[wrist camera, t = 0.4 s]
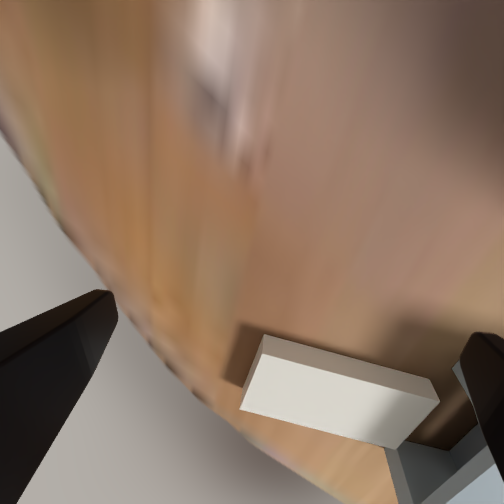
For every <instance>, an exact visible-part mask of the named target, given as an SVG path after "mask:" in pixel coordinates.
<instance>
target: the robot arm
mask: <svg viewBox="0 0 504 504" xmlns="http://www.w3.org/2000/svg"><path fill="white" fill-rule="evenodd" d="M117 322H118V312H117V307H116V303H115V298H114V295H113V293H112V292H111V291H109V290H99V289H96V290H93V291H91V292H88V293H86V294H84V295H82V296H80V297H77V298H75V299H73V300H71V301H68V302H66V303H64V304H62V305H59V306H57V307H55V308H53V309H51V310H48V311H46V312H44V313H42V314H39V315H37V316H35V317H33V318H31V319H29V320H27V321H24V322H22V323H20V324H17V325H16V326H13V327H11V328H8V329H6V330H4V331H2V332H0V504H17V502H18V500H19V499H20V497H21V495H22V494H23V492H24V490H25V488H26V487H27V485H28V483H29V482H30V480H31V478H32V477H33V475H34V473H35V472H36V470H37V468H38V467H39V465H40V463H41V462H42V460H43V458H44V456H45V455H46V453H47V451H48V450H49V448H50V447H51V445H52V443H53V441H54V440H55V438H56V436H57V435H58V433H59V431H60V430H61V428H62V426H63V425H64V423H65V421H66V419H67V418H68V416H69V414H70V413H71V411H72V410H73V408H74V406H75V405H76V403H77V401H78V399H79V398H80V396H81V394H82V393H83V391H84V389H85V388H86V386H87V384H88V382H89V381H90V379H91V377H92V375H93V374H94V371H95V370H96V368H97V365H98V363H99V361H100V359H101V357H102V354H103V353H104V350H105V348H106V346H107V344H108V342H109V340H110V338H111V335H112V333H113V331H114V329H115V327H116V325H117ZM460 367H461V370H462V373H463V376H464V379H465V383H466V386H467V389H468V392H469V395H470V398H471V401H472V404H473V407H474V411H475V414H476V417H477V420H478V423H479V425H480V428H481V431H482V433H483V436H484V438H485V441H486V443H487V445H488V448H489V450H490V452H491V455H492V457H493V459H494V461H495V464H496V466H497V468H498V471H499V473H500V475H501V478H502V480H503V482H504V339H503V338H501V337H499V336H498V335H496V334H493V333H486V332H474V333H473V334H472V335H471V336H470V338H469V340H468V342H467V344H466V346H465V347H464V349H463V351H462V353H461V355H460Z"/></svg>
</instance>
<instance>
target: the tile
mask: <svg viewBox="0 0 504 504" xmlns="http://www.w3.org/2000/svg"><path fill="white" fill-rule="evenodd" d="M439 403H440V400H439V398H438V396H437V394H436V392H435V390H434V388H433V385H432V383H431V381H430V379H427V378H424V377H420V376H416V375H413V374H409V373H405V372H402V371H398V370H394V369H391V368H387V367H383V366H380V365H376V364H372V363H369V362H365V361H361V360H358V359H354V358H350V357H347V356H343V355H339V354H336V353H332V352H328V351H325V350H321V349H317V348H314V347H310V346H306V345H303V344H299V343H295V342H292V341H288V340H284V339H281V338H277V337H273V336H270V335H266V334H264V335H263V338H262V340H261V343H260V345H259V348H258V351H257V353H256V356H255V358H254V361H253V363H252V366H251V368H250V371H249V374H248V376H247V379H246V381H245V384H244V386H243V390H242V397H241V403H240V409H241V410H245V411H248V412H252V413H256V414H260V415H264V416H268V417H271V418H275V419H279V420H283V421H287V422H291V423H294V424H298V425H302V426H306V427H310V428H313V429H317V430H321V431H325V432H329V433H333V434H336V435H340V436H344V437H348V438H352V439H356V440H359V441H363V442H367V443H371V444H375V445H378V446H382V447H386V448H390V449H394V450H396V449H397V448H398V447H399V445H400V444H401V443H402V442H403V441H404V440H405V439H406V438H407V437H408V436H409V435H410V434H411V433H412V432H413V430H414V429H415V428H416V427H417V426H418V425H419V424H420V423H421V422H422V421H423V420H424V419H425V418H426V417H427V415H428V414H429V413H430V412H431V411H432V410H433V409H434V408H435V407H436V406H437V405H438V404H439Z"/></svg>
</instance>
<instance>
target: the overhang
mask: <svg viewBox="0 0 504 504" xmlns="http://www.w3.org/2000/svg"><path fill="white" fill-rule="evenodd" d="M452 370H453V372H454V373H455V375H456V377H457V378H458V380H459V382H460V384H461V385H462V387H463V389H464V390H465V392H466V394H467V396H468V397H469V399H470V401H471V398H470V395H469V392H468V389H467V386H466V383H465V379H464V376H463V373H462V370H461V367H460V359H459V361H458V362H457V363H456V364H455V365H454V367H453V368H452ZM471 402H472V401H471ZM384 450H385V454H386V458H387V462H388V465H389V469H390V473H391V477H392V480H393V484H394V488H395V492H396V495H397V499H398V503H399V504H504V482H503V480H502V478H501V475H500V473H499V471H498V468H497V466H496V464H495V461H494V459H493V457H492V455H491V452H490V450H489V448H488V445H487V443H486V441H485V438H484V436H483V433H482V431H481V428H480V425H479V423H478V424H477V425H476V426H475V427H474V428H473V429H472V430H471V431H470V432H469V433H468V434H467V435H465V436H464V437H463V438H462V439H461V440H460V441H459V442H458V443H457V444H456V445H455V446H454V447H453V448H452V449H451V450H450V451H445V450H441V449H437V448H433V447H429V446H425V445H421V444H416V443H412V442H408V441H403V442H402V443H401V444H400V445H399V447H398V448H397V449H396V450H394V449H390V448H386V447H385V449H384Z"/></svg>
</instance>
